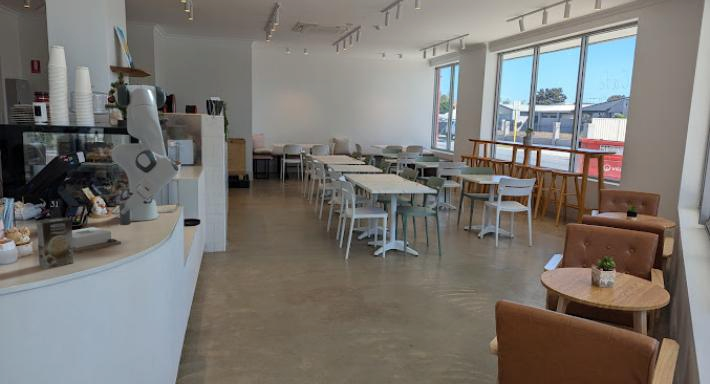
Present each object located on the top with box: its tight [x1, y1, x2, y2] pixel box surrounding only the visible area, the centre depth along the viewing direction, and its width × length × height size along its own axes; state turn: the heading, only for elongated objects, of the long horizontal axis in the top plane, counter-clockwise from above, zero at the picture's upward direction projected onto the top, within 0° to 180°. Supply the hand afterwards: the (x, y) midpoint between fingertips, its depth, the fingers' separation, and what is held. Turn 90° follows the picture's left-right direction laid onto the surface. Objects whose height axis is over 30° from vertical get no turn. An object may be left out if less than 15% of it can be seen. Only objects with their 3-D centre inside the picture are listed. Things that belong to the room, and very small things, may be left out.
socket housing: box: [72, 226, 112, 248], centre depth 198 cm, size 14×14×4 cm
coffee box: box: [36, 217, 74, 269], centre depth 170 cm, size 9×6×16 cm
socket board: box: [73, 238, 122, 254], centre depth 199 cm, size 22×18×2 cm
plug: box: [118, 199, 131, 226], centre depth 205 cm, size 4×4×10 cm
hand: (123, 211), depth 205 cm, fingers closed on plug, 4 cm apart
